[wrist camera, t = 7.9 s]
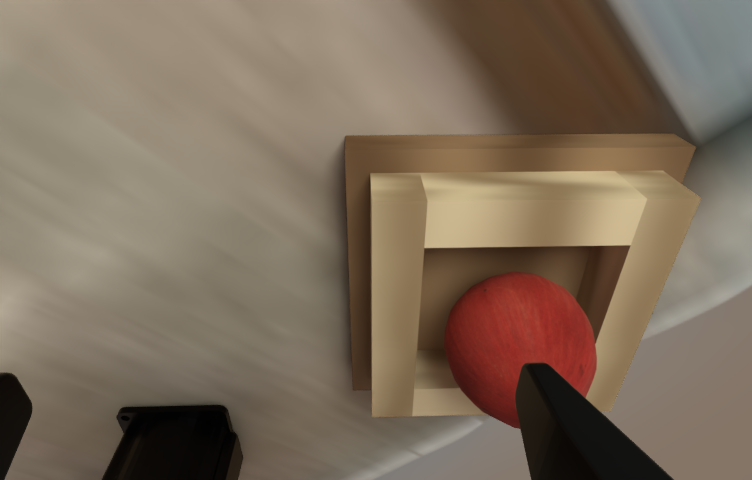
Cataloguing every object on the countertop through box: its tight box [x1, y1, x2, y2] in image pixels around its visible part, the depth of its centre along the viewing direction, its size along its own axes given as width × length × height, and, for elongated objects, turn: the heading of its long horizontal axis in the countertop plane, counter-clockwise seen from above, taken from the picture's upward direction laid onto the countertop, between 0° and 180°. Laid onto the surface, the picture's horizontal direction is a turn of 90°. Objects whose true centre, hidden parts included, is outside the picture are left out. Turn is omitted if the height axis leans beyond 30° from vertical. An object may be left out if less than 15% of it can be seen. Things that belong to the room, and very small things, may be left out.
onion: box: [444, 271, 597, 429], centre depth 18 cm, size 6×6×8 cm
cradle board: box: [345, 134, 701, 417], centre depth 21 cm, size 14×14×4 cm
